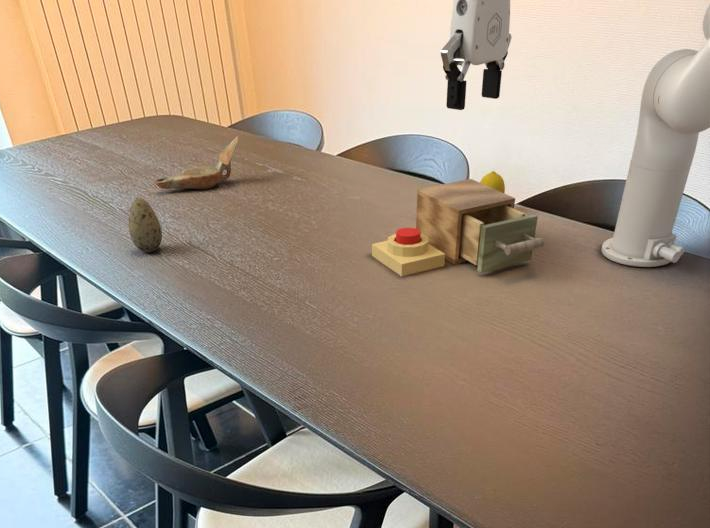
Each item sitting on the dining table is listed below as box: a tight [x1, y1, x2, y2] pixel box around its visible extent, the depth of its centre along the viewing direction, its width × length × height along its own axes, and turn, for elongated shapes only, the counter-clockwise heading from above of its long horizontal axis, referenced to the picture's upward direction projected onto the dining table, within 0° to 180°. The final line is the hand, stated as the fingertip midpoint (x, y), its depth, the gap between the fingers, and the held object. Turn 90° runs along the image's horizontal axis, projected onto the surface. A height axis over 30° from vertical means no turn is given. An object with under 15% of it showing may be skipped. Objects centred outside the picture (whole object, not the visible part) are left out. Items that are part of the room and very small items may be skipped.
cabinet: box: [415, 178, 516, 265], centre depth 125 cm, size 14×12×10 cm
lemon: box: [479, 170, 506, 194], centre depth 140 cm, size 6×6×8 cm
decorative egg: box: [128, 197, 163, 253], centre depth 128 cm, size 6×6×10 cm
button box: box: [371, 233, 446, 277], centre depth 122 cm, size 11×9×4 cm
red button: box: [395, 227, 421, 245], centre depth 121 cm, size 4×4×2 cm
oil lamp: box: [154, 135, 239, 190], centre depth 158 cm, size 9×21×10 cm, turn 114°
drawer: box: [459, 205, 545, 274], centre depth 118 cm, size 17×11×8 cm, turn 27°
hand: (473, 103), depth 109 cm, fingers open, 9 cm apart
